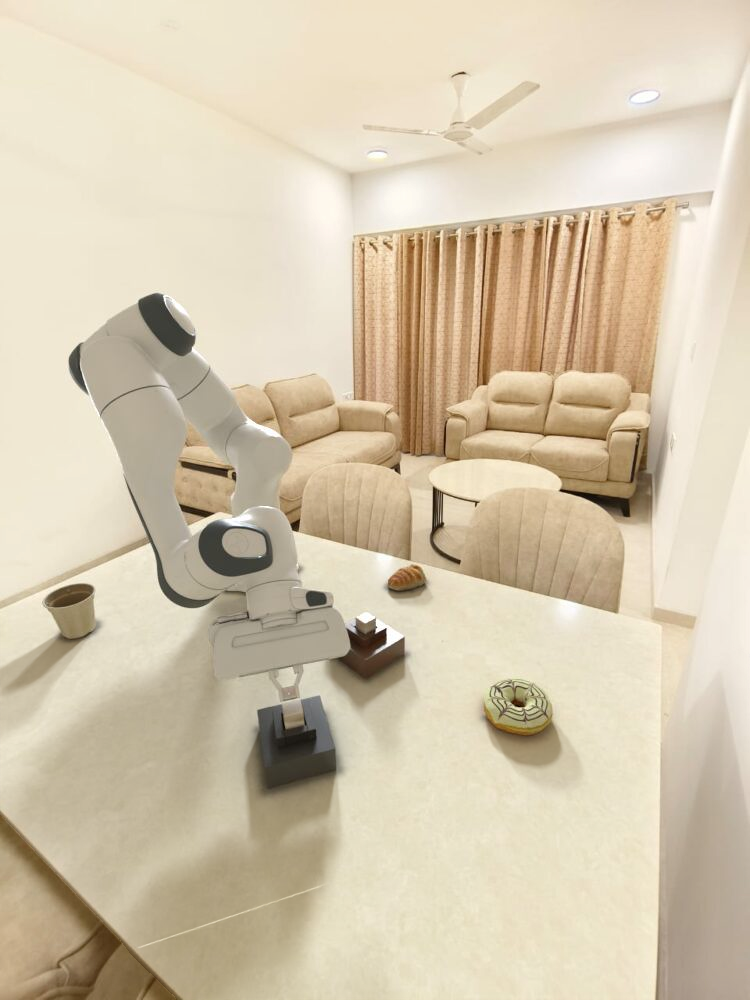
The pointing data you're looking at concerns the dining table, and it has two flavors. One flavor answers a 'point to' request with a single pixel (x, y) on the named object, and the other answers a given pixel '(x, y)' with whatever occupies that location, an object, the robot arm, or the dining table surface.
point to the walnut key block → (372, 648)
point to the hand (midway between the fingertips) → (289, 700)
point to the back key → (365, 623)
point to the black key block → (296, 744)
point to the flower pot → (72, 609)
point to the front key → (293, 714)
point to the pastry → (407, 578)
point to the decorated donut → (514, 719)
